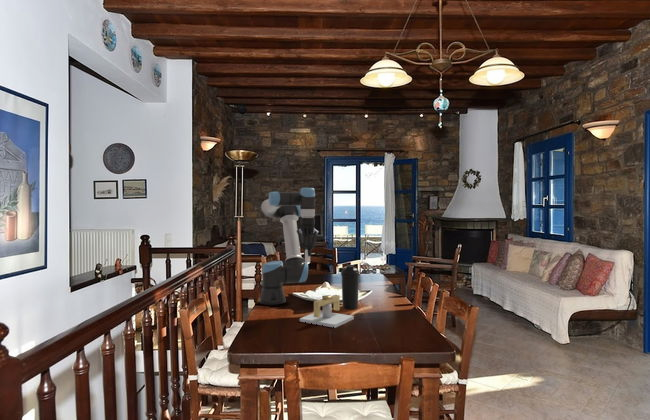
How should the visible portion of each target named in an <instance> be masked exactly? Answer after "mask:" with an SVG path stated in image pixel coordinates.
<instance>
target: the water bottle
mask: <svg viewBox="0 0 650 420" xmlns="http://www.w3.org/2000/svg"><path fill="white" fill-rule="evenodd" d="M340 276H341V298H342V299H341V301H342V305H341V306H342V308H343V309H345V310H357V309H358V308H359V286H360V285H359V284H360V283H359V282H360V281H359V280H360V271H359V269H358V268H356V267H355V264H346V267H344V268H343V269H342V270H341V271H340Z"/></svg>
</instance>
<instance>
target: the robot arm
mask: <svg viewBox="0 0 650 420" xmlns="http://www.w3.org/2000/svg"><path fill="white" fill-rule="evenodd" d="M260 211H261V213H263V215H265V216H266V217H268V218H273V219H279V222H280V223H282V229H283V237H284V248H285V255H286V258H285V260H284V262H283V261H282V260H272V261H267V262H265V263H263V265H262V268H261V269H262V271H261V274H262V277H261V279H262V281H261V282H262V284H261V287H262V289H261V292H260V296H259V298H258V300H259V304H261V305H267V306H276V305H281V304H284V303H286V301H287V300H286V296H285V291H284V288H283V287H284V285H283V284H296V283H297V284H299V283H304V282H306V281H307V279H308V275H309V264H308V263H311V256H312V250H313V249H315V248H316V244H317V240H318V239H317V238H318V236H319V233H320V231H319V230H317V229H316V227H315V224H316V219H315V217H316V191H315V188H314V187H301V188H300V191H270V192H269V193H268V198H267V199H265V200H264V201H262V203H261V205H260ZM299 218H300V228H299V229H298V224H297V221H299ZM301 249H303V256H304V257H302V256H301Z"/></svg>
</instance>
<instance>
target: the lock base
mask: <svg viewBox="0 0 650 420" xmlns="http://www.w3.org/2000/svg"><path fill="white" fill-rule="evenodd" d="M332 306H333V305H332V303H330V304H326V305H323V306H322V310H320V317H319V318H317V317H314V312H312V313H309V314H307V315H305V316H303V317H300V318H299V322H301V323H305V322H306V324H311V323H312V325H316V324H317V326H322V325H323V326H324V327H329V328H333V327H334V329H336V328H338V327H341V326H342V325H344V324H346V323H348V322H351V321H352V320H354V319H355V317H354V315H350V314H344V313H336V312H332V310H333V308H332ZM323 326H322V327H323Z"/></svg>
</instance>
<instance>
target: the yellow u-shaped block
mask: <svg viewBox="0 0 650 420" xmlns="http://www.w3.org/2000/svg"><path fill="white" fill-rule="evenodd" d="M340 297H341V296H340V295H338V294H334V295H328V294H326V295H321V299H318V300H315V301H313V313H314V317H317V318H319V317H320V311H321V307H323V305H326V304H330V303H331V304H332V303H333V311H338V312H339V311H340V309H341V307H340V304H341V303H340V299H341V298H340Z"/></svg>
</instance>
